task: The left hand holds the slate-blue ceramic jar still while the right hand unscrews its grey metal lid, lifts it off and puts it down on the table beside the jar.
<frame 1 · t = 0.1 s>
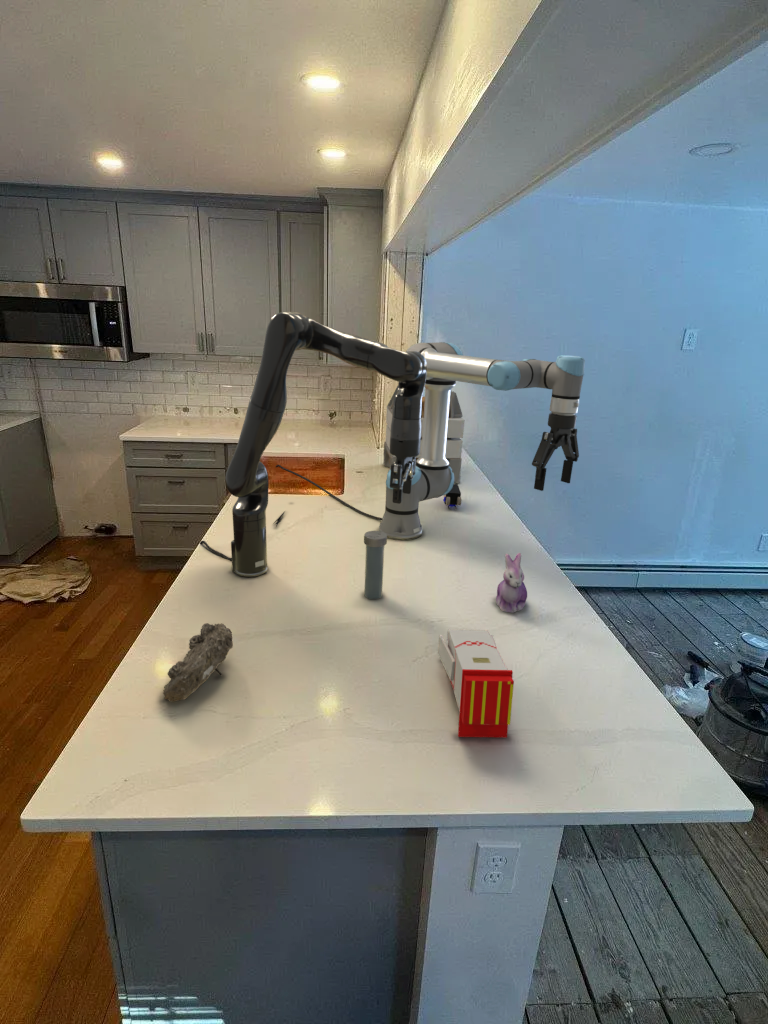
left hand: (401, 497, 145), 29 cm above the counter, tool pointing down, fingers open, 8 cm apart
right hand: (552, 485, 166), 28 cm above the counter, tool pointing down, fingers open, 13 cm apart
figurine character: (451, 505, 231), on the counter
grey slatted crate: (419, 473, 275), on the counter
figurine: (510, 605, 154), on the counter
toy: (469, 691, 119), on the counter
jar: (373, 595, 157), on the counter
lid: (375, 536, 151), point 18 cm above the counter, screwed on, not yet turned
fossil: (204, 673, 121), on the counter
feather: (283, 515, 213), on the counter
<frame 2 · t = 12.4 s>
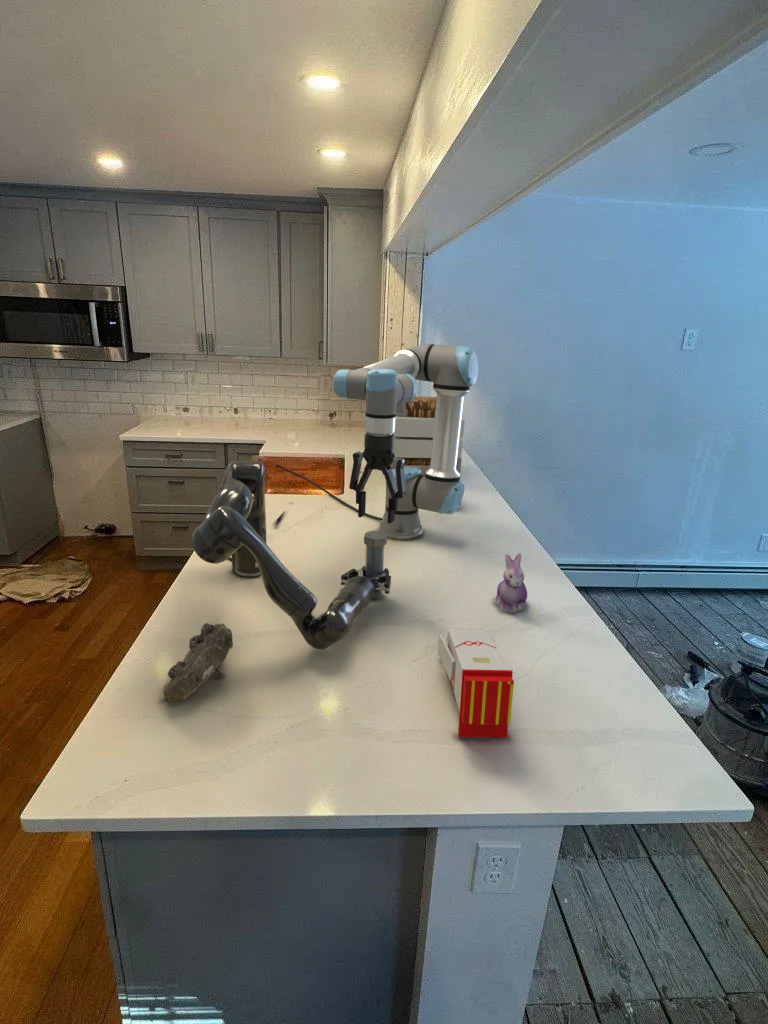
left hand: (377, 569, 157), 7 cm above the counter, tool horizontal, fingers closed on jar, 5 cm apart
right hand: (376, 518, 149), 23 cm above the counter, tool pointing down, fingers open, 8 cm apart
jar: (373, 595, 157), on the counter, touching left hand
everything else where it was.
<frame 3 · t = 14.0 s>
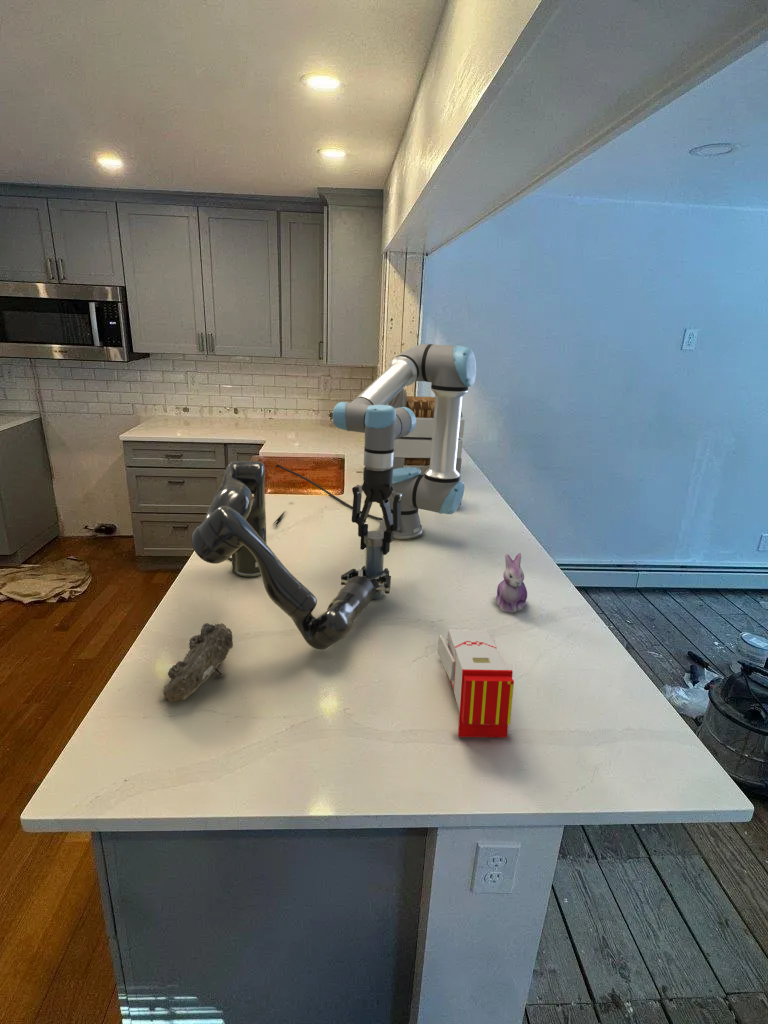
left hand: (377, 569, 157), 7 cm above the counter, tool horizontal, fingers closed on jar, 5 cm apart
right hand: (374, 550, 152), 14 cm above the counter, tool pointing down, fingers closed on lid, 6 cm apart
jar: (373, 595, 157), on the counter, touching left hand
lid: (375, 536, 151), point 18 cm above the counter, screwed on, not yet turned, touching right hand
everything else where it was.
when the right hand's fingers open (14 cm above the counter, at t = 15.4 s): lid stays where it is, point 18 cm above the counter.
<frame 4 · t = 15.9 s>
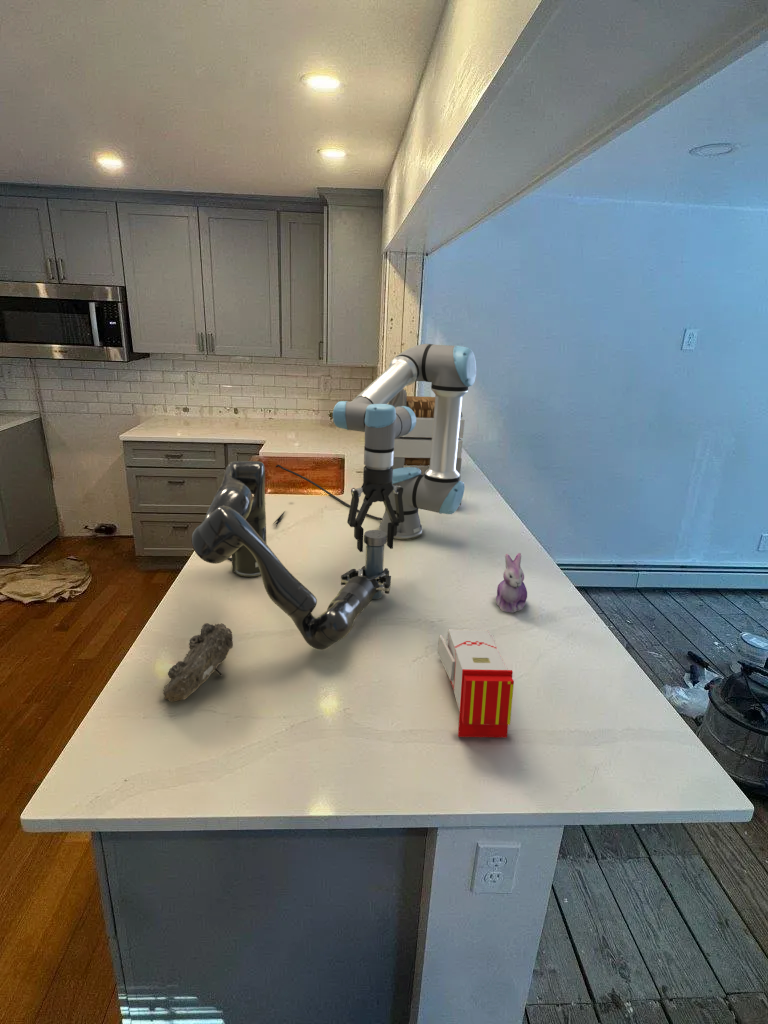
left hand: (377, 569, 157), 7 cm above the counter, tool horizontal, fingers closed on jar, 5 cm apart
right hand: (375, 548, 152), 14 cm above the counter, tool pointing down, fingers open, 8 cm apart
jar: (373, 595, 157), on the counter, touching left hand
lid: (375, 535, 151), point 18 cm above the counter, turned 86° so far, risen 0.3 cm, still on its thread
everything else where it was.
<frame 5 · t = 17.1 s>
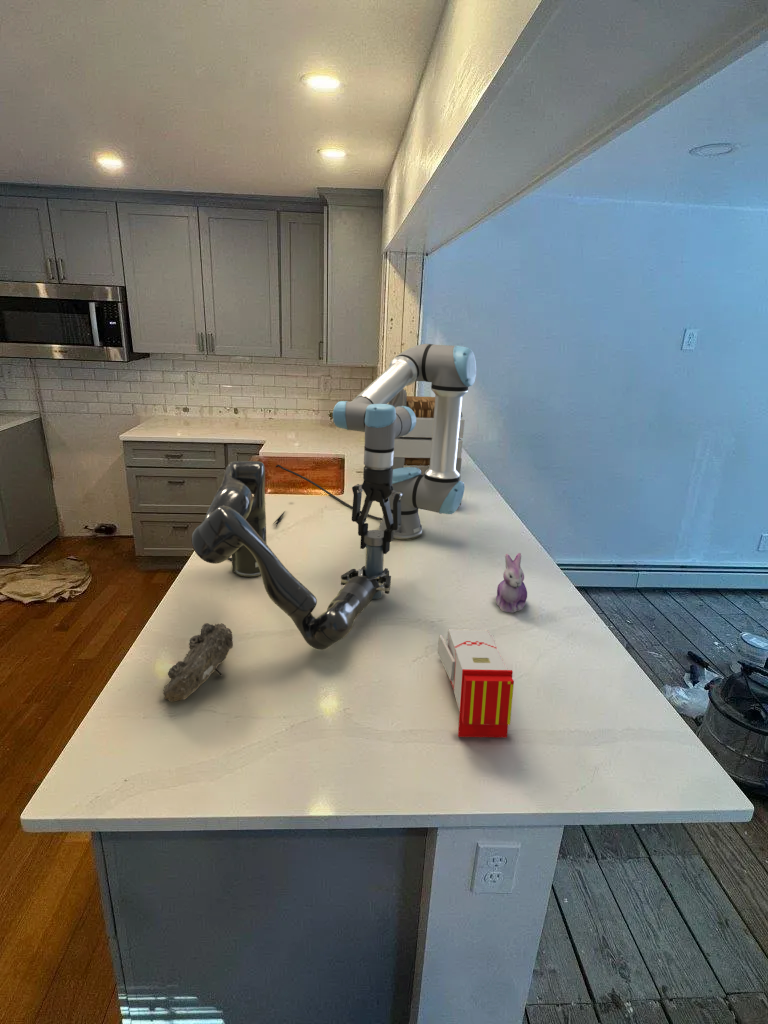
left hand: (377, 569, 157), 7 cm above the counter, tool horizontal, fingers closed on jar, 5 cm apart
right hand: (375, 549, 152), 14 cm above the counter, tool pointing down, fingers closed on lid, 6 cm apart
jar: (373, 595, 157), on the counter, touching left hand
lid: (375, 535, 151), point 18 cm above the counter, turned 86° so far, risen 0.3 cm, still on its thread, touching right hand
everything else where it was.
when the right hand's fingers open (0 cm above the counter, at t = 23.5 s): lid stays where it is, point 2 cm above the counter.
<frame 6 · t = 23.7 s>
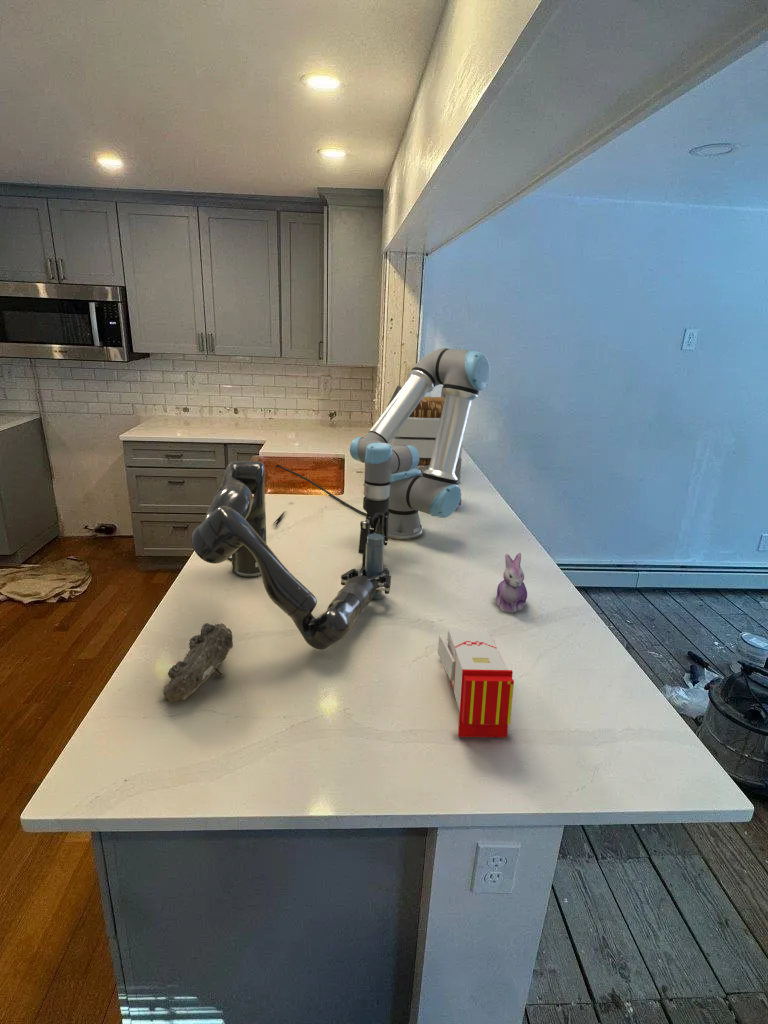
left hand: (377, 569, 157), 7 cm above the counter, tool horizontal, fingers closed on jar, 5 cm apart
right hand: (372, 568, 172), 0 cm above the counter, tool pointing down, fingers open, 7 cm apart
jar: (373, 595, 157), on the counter, touching left hand
lid: (373, 563, 172), point 2 cm above the counter, off its thread
everything else where it was.
when the left hand's fingers open (7 cm above the counter, at t = 24.6 s): jar stays where it is, on the counter.
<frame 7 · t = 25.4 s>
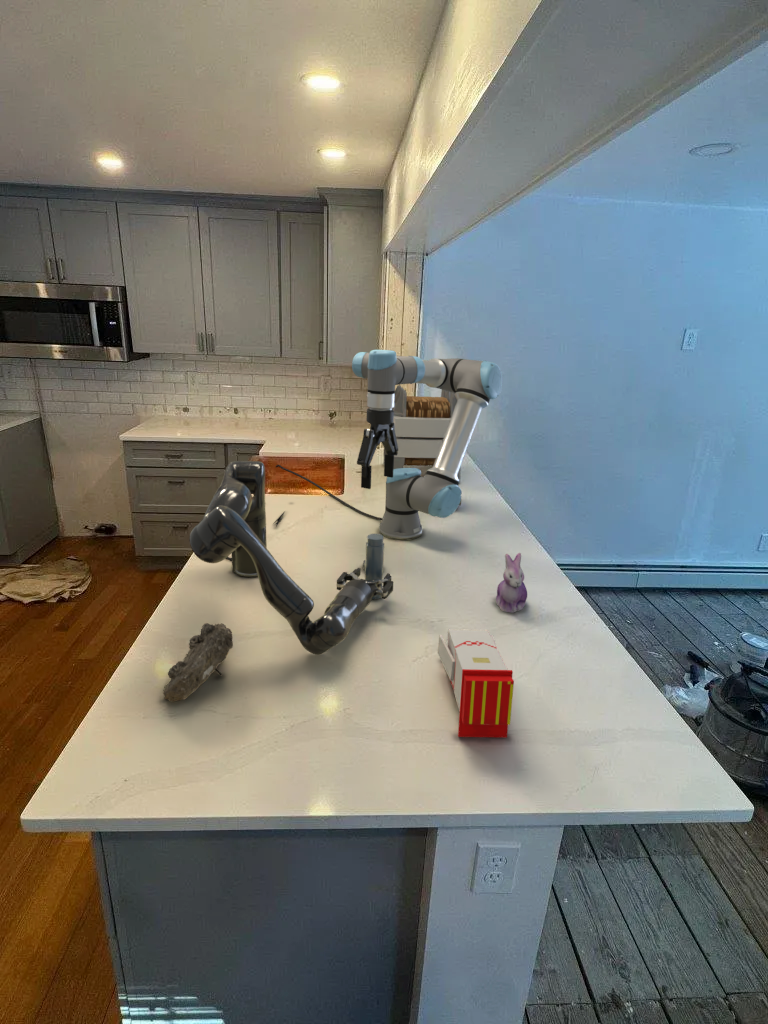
left hand: (374, 573, 154), 7 cm above the counter, tool horizontal, fingers open, 8 cm apart
right hand: (377, 482, 163), 27 cm above the counter, tool pointing down, fingers open, 13 cm apart
jar: (373, 595, 157), on the counter
everything else where it was.
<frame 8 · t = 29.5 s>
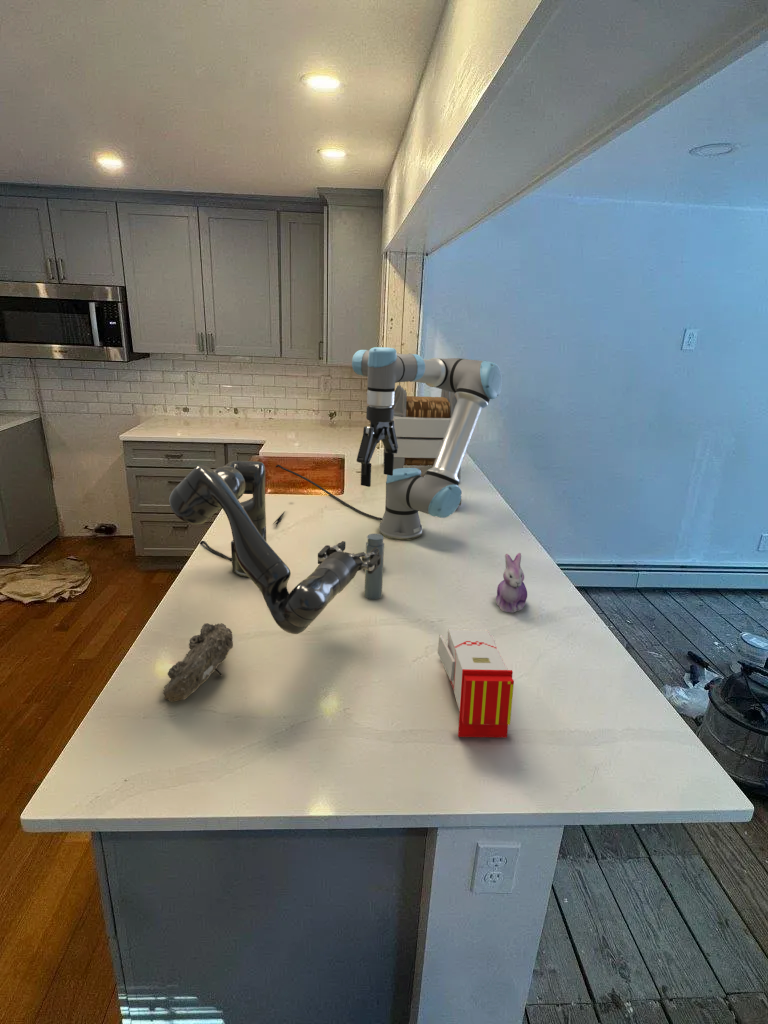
left hand: (360, 547, 140), 19 cm above the counter, tool horizontal, fingers open, 8 cm apart
right hand: (377, 480, 163), 28 cm above the counter, tool pointing down, fingers open, 13 cm apart
nothing on the counter moved.
at the end: lid came off its thread; lid point 1.9 cm above the counter; the left hand is holding nothing; the right hand is holding nothing; jar tilted 0°; jar moved 0.0 cm from its start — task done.
